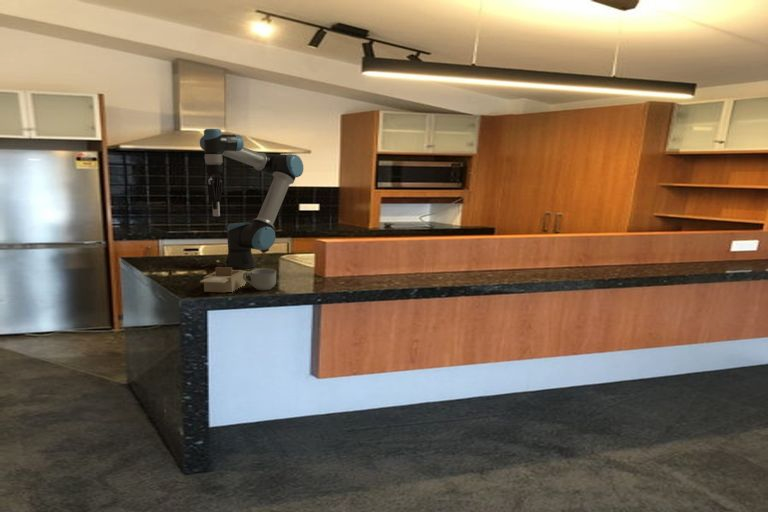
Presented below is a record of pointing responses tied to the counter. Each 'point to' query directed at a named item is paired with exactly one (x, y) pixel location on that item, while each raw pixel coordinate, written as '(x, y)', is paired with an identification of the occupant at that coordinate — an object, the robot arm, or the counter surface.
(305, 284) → the counter surface
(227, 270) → the lid
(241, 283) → the box
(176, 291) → the counter surface
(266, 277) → the teacup
